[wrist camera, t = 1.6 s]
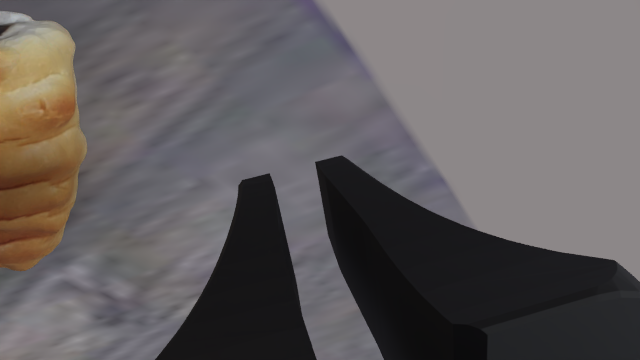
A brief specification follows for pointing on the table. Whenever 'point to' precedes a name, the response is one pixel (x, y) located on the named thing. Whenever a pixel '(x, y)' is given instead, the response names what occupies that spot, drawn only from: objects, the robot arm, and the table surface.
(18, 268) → the pastry
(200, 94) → the table surface
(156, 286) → the table surface
